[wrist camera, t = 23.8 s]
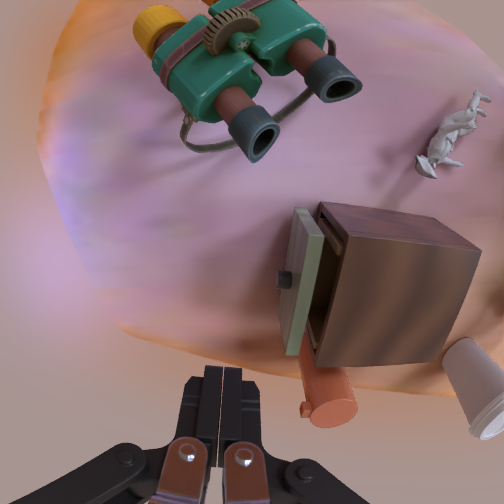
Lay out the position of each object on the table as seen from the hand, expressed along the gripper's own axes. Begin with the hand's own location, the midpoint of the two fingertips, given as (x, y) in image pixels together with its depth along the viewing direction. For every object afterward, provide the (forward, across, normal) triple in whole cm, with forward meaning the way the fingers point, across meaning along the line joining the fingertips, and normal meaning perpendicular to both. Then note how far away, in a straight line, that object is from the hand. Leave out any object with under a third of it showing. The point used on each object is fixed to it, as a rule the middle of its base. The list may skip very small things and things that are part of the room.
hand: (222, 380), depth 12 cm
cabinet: (+20, -14, +3) cm, 25 cm away
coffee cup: (+20, -36, +17) cm, 44 cm away
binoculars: (+20, +2, -15) cm, 25 cm away
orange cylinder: (+20, -10, +14) cm, 27 cm away
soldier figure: (+20, -20, -13) cm, 32 cm away
